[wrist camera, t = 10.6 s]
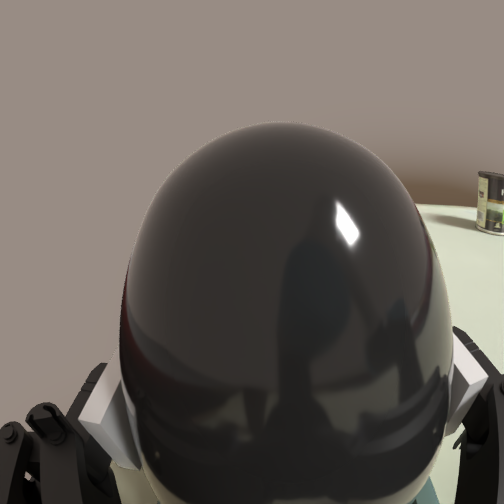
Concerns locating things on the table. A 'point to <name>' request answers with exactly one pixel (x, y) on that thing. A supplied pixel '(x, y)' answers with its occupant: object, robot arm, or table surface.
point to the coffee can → (491, 203)
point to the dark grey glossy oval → (285, 327)
